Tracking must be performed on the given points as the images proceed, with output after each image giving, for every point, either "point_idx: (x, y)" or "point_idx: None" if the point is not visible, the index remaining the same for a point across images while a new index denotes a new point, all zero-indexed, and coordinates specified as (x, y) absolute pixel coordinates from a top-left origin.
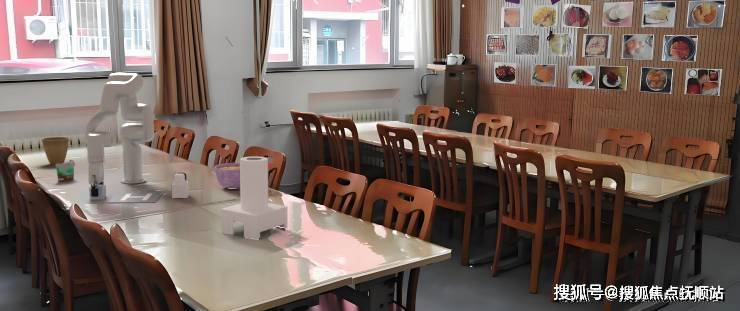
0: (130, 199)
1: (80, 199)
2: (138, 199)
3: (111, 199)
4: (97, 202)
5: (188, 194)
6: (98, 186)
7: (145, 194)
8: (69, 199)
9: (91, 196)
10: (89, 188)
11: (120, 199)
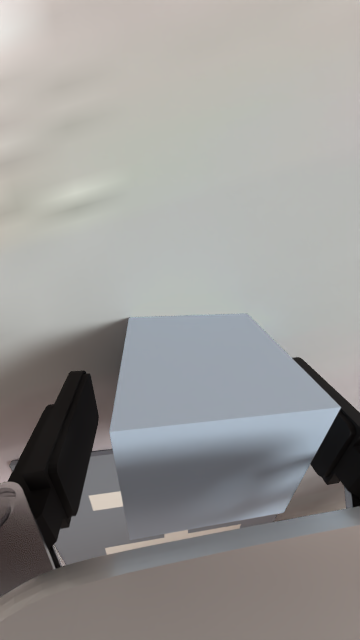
0: (118, 519)
1: (125, 216)
2: (120, 537)
3: (111, 458)
4: (19, 405)
5: None
6: (185, 499)
7: (225, 524)
8: (119, 11)
9: (70, 372)
10: (112, 415)
11: (114, 491)
